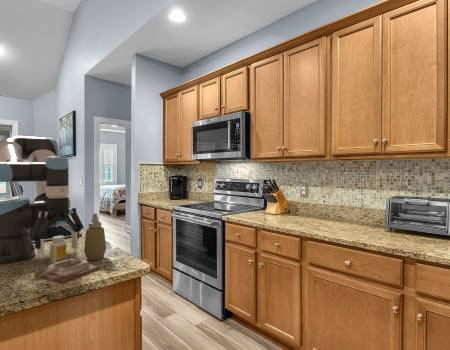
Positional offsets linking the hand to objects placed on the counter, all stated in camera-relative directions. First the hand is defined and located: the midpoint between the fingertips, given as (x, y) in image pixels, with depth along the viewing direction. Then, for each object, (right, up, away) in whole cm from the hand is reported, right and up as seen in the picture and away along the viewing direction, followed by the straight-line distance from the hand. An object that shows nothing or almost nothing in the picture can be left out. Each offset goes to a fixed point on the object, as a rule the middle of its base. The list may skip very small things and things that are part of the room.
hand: (58, 252), depth 108 cm
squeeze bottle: (+12, -4, +4) cm, 14 cm away
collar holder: (+10, -4, -11) cm, 15 cm away
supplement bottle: (0, -4, 0) cm, 4 cm away
